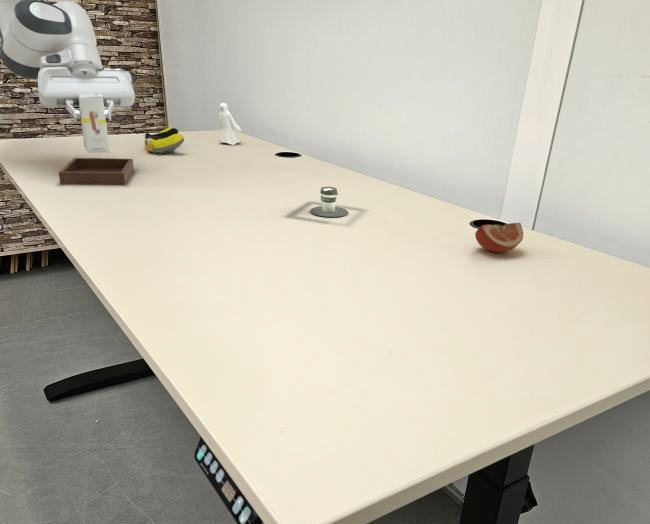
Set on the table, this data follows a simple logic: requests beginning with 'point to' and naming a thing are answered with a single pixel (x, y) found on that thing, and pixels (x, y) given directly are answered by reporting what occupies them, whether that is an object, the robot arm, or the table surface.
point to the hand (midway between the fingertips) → (93, 119)
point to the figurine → (228, 126)
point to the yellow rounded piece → (163, 140)
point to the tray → (97, 171)
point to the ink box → (93, 122)
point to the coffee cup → (328, 204)
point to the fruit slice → (499, 236)
